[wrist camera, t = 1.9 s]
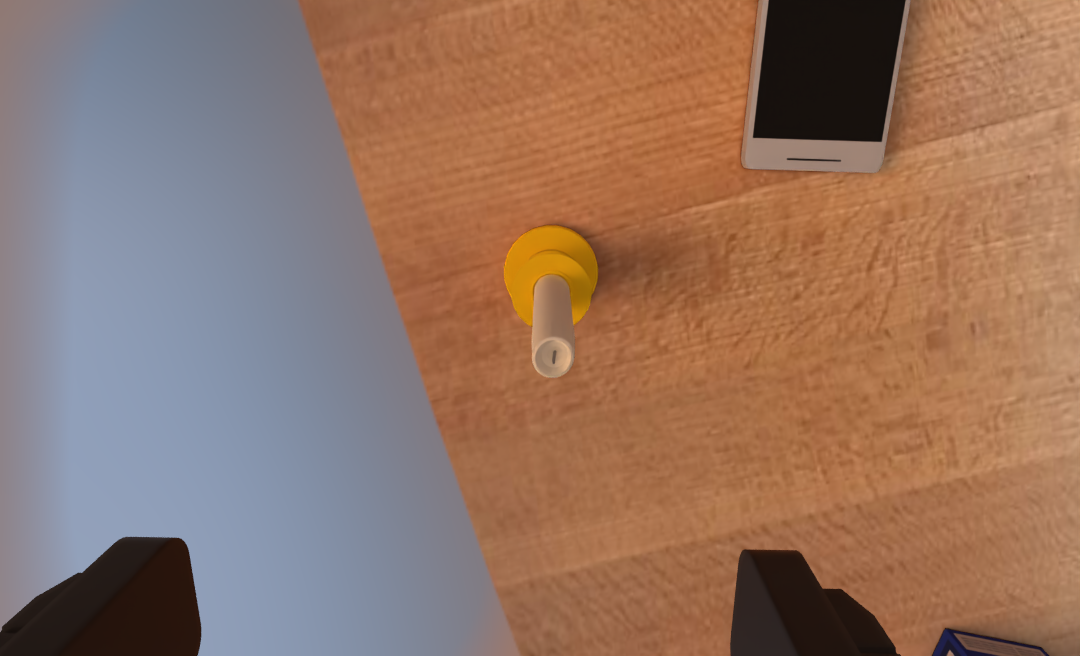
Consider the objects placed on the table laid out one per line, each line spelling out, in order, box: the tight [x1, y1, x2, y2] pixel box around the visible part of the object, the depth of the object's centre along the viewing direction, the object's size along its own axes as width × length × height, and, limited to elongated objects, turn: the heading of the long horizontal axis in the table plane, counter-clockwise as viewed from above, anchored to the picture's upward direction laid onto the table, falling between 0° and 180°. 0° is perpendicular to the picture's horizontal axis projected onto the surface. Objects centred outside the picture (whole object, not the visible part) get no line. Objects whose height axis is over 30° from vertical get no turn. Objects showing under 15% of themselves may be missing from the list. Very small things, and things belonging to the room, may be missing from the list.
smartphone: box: [741, 0, 911, 173], centre depth 32 cm, size 7×16×1 cm, turn 178°
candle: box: [504, 225, 598, 378], centre depth 29 cm, size 5×5×16 cm
